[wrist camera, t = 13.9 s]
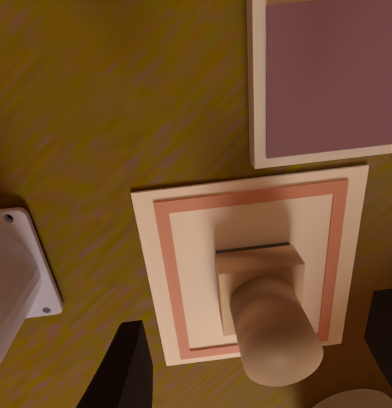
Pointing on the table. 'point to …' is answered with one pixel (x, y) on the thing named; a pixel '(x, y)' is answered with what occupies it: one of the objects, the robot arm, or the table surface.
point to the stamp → (267, 312)
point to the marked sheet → (246, 237)
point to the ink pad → (318, 80)
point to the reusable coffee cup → (357, 399)
